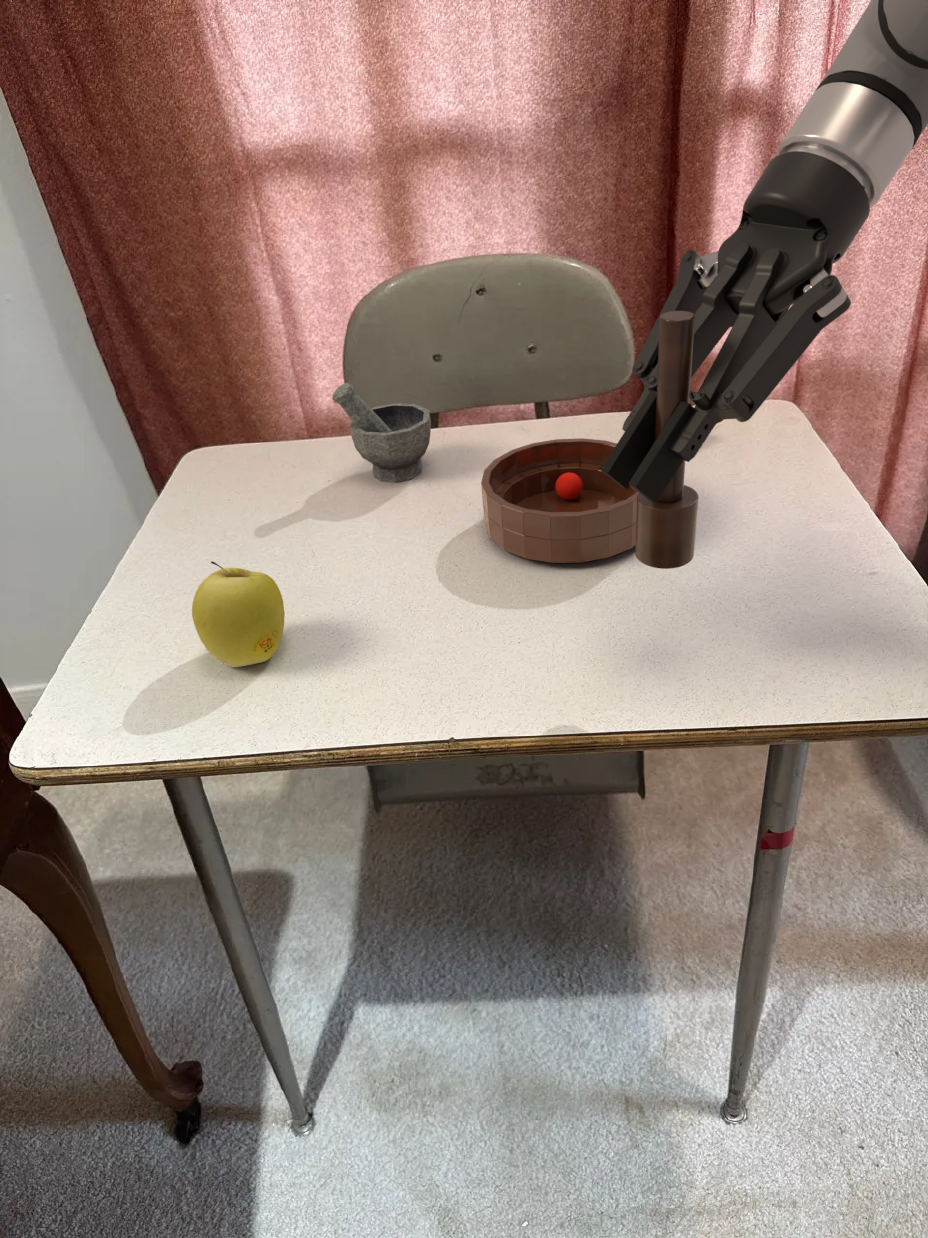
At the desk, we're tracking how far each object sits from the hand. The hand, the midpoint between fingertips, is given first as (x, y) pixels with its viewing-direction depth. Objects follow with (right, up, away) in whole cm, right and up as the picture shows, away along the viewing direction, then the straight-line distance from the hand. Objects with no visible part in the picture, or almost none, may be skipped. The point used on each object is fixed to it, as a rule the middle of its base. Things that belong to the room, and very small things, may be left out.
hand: (628, 486), depth 59 cm
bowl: (0, +1, +30) cm, 30 cm away
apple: (-31, -12, +17) cm, 37 cm away
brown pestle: (+4, -4, +6) cm, 8 cm away
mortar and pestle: (-20, +9, +45) cm, 50 cm away
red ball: (0, +5, +33) cm, 33 cm away
